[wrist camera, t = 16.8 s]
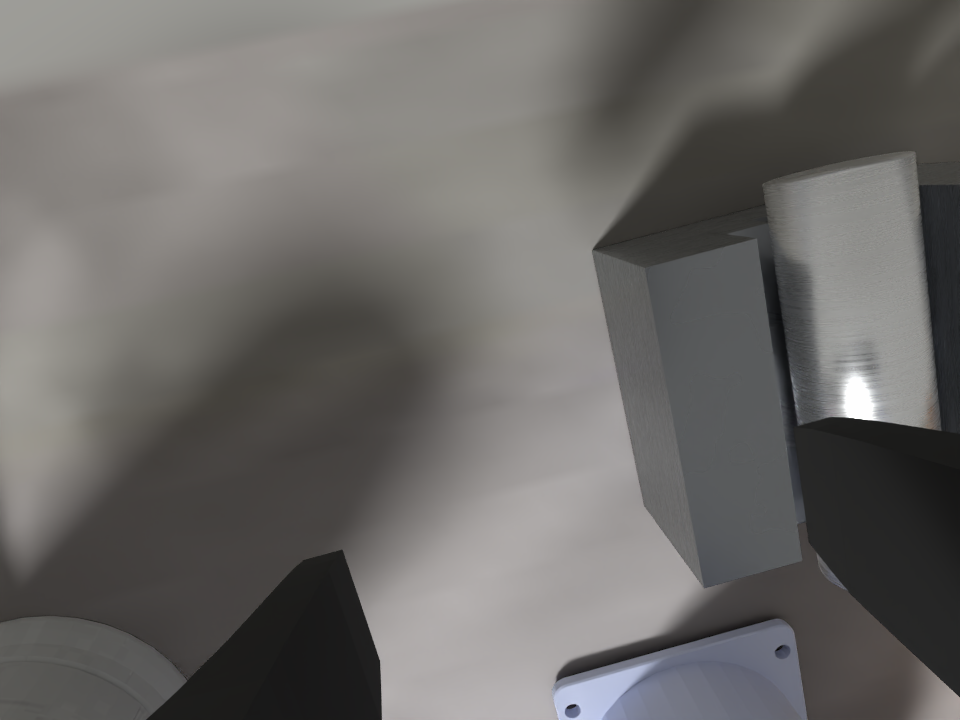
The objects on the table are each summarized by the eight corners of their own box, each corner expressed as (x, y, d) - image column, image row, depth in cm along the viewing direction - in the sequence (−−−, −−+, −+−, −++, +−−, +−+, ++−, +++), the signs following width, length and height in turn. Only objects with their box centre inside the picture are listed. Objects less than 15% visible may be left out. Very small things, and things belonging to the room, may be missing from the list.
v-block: (941, 424, 21) (1077, 484, 17) (644, 505, 21) (704, 588, 17) (921, 163, 19) (1070, 155, 15) (592, 250, 19) (644, 268, 15)
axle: (894, 520, 19) (985, 575, 16) (794, 551, 19) (869, 613, 16) (852, 157, 17) (951, 145, 14) (738, 188, 16) (813, 182, 14)
